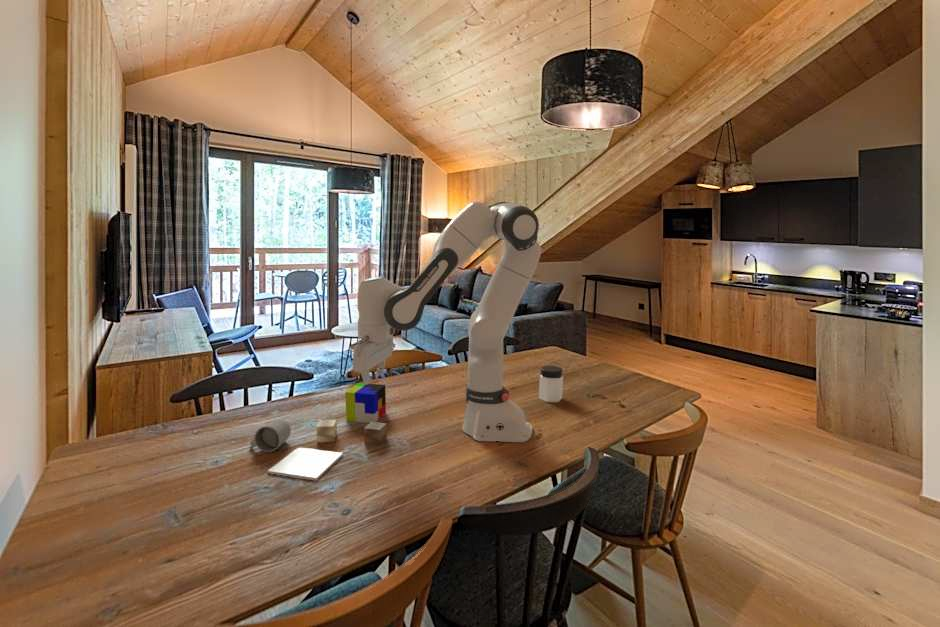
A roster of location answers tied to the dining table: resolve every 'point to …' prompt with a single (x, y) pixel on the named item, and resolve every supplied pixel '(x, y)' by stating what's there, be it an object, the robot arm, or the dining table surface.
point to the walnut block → (375, 433)
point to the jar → (551, 384)
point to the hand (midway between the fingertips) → (374, 378)
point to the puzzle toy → (365, 402)
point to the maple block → (326, 431)
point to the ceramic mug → (271, 435)
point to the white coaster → (306, 463)
